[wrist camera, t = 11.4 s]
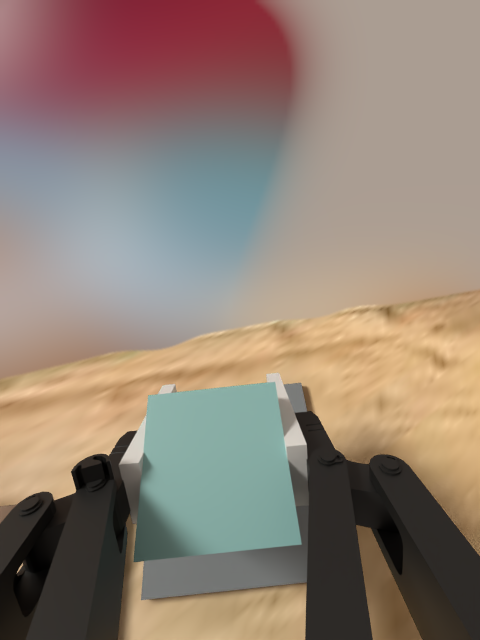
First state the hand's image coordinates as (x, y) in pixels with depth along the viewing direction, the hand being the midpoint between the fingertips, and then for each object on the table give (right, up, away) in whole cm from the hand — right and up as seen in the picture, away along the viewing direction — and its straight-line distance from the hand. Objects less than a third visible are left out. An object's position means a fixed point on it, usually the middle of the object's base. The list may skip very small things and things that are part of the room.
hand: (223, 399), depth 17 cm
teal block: (+1, -5, +1) cm, 5 cm away
